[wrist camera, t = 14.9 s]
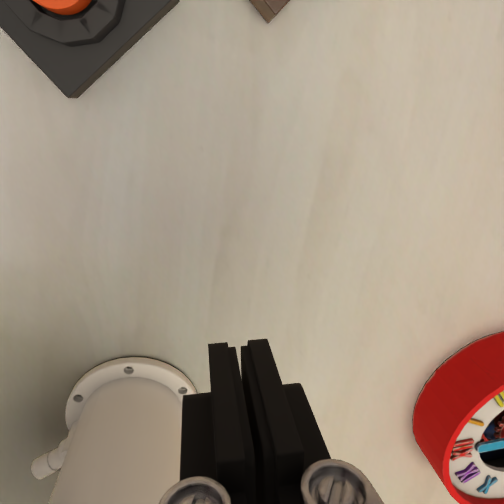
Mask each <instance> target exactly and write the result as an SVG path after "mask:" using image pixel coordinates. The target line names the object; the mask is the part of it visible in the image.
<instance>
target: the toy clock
mask: <svg viewBox="0 0 504 504" xmlns="http://www.w3.org/2000/svg"><path fill="white" fill-rule="evenodd" d="M412 421H413V433H414V436H415V439H416V442H417V444H418V445H419V447H420V448H421V450H422V452H423V453H424V455H425V456H426V458H427V459H428V461H429V462H430V464H431V465H432V467H433V469H434V470H435V472H436V473H437V475H438V476H439V478H440V479H441V481H442V482H443V484H444V485H445V487H446V488H447V490H448V492H449V493H450V495H451V496H452V497H453V498H454V499H455V500H456V501H457V502H458V503H460V504H504V331H503V332H499V333H496V334H492V335H489V336H486V337H484V338H481V339H479V340H477V341H474V342H473V343H471V344H469V345H467V346H466V347H464V348H462V349H460V350H459V351H458V352H456V353H455V354H454V355H452V356H451V357H450V358H448V359H447V360H446V361H445V362H444V363H443V364H442V365H441V366H440V367H439V368H438V369H437V370H436V371H435V372H434V373H433V375H432V376H431V377H430V379H429V380H428V381H427V382H426V384H425V386H424V387H423V389H422V391H421V393H420V395H419V397H418V400H417V402H416V405H415V408H414V414H413V420H412Z"/></svg>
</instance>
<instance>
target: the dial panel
mask: <svg viewBox="0 0 504 504" xmlns="http://www.w3.org/2000/svg"><path fill="white" fill-rule="evenodd" d="M250 1H251V3H252V4H253V5H254V6H255V8H256V9H257V10H258V11H259V13H260V14H261V15H262V16H263V18H264V19H265V20H266V21H267V23H269V22H270V21H271V20H272V19H273V18H274V17H275V16H276V15H277V14H278V13H279V12H280V10H281V9H282V8H283V7H284V6H285V5H286V4H287V3H288V2H289V1H290V0H250Z"/></svg>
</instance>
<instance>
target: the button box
mask: <svg viewBox="0 0 504 504" xmlns="http://www.w3.org/2000/svg"><path fill="white" fill-rule="evenodd" d="M178 2H179V0H92V1H91V2H90V4H89V5H88V6H87V7H86V8H85V9H84V10H82V11H81V12H79V13H76V14H72V15H61V14H56V13H54V12H51V11H49V10H47V9H46V8H44V7H42V6H41V5H39V4H38V3H36V2H34V1H33V0H0V27H1V28H2V29H3V30H4V31H5V32H6V33H7V34H8V35H9V36H10V37H11V38H12V39H13V40H14V42H15V43H16V44H17V45H18V46H19V47H20V48H21V49H22V50H23V51H24V52H25V53H26V54H27V55H28V56H29V57H30V58H31V60H32V61H33V62H34V63H35V64H36V65H37V66H38V67H39V68H40V69H41V70H42V71H43V72H44V73H45V74H46V75H47V76H48V78H49V79H50V80H51V81H52V82H53V83H54V84H55V85H56V86H57V87H58V88H59V89H60V90H61V91H62V92H63V93H64V94H65V96H66V97H68V98H78V97H79V96H80V95H81V94H82V93H83V92H84V91H85V90H86V89H87V88H88V87H89V86H90V85H91V84H93V83H94V82H95V81H96V80H97V79H98V78H99V77H100V76H101V75H102V74H103V73H104V72H105V71H106V70H107V69H108V68H109V67H111V66H112V65H113V64H114V63H115V62H116V61H117V60H118V59H119V58H120V57H121V56H122V55H123V54H124V53H125V52H126V51H127V50H129V49H130V48H131V47H132V46H133V45H134V44H135V43H136V42H137V41H138V40H139V39H140V38H141V37H142V36H143V35H144V34H145V33H147V32H148V31H149V30H150V29H151V28H152V27H153V26H154V25H155V24H156V23H157V22H158V21H159V20H160V19H161V18H162V17H163V16H164V15H166V14H167V13H168V12H169V11H170V10H171V9H172V8H173V7H174V6H175V5H176V4H177V3H178Z"/></svg>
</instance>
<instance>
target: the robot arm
mask: <svg viewBox="0 0 504 504" xmlns="http://www.w3.org/2000/svg"><path fill="white" fill-rule="evenodd" d="M208 349H209V366H210V383H211V392H208V393H199V394H197V392H196V390H195V388H194V386H193V385H192V383H191V382H190V380H189V379H188V378H187V377H186V376H185V375H184V374H183V373H182V372H180V371H179V370H177V369H176V368H174V367H172V366H171V365H169V364H166V363H164V362H161V361H158V360H154V359H149V358H140V357H129V358H119V359H115V360H112V361H108V362H105V363H103V364H101V365H99V366H96V367H94V368H93V369H92V370H90V371H89V372H87V373H86V374H85V375H84V376H83V377H82V378H81V379H80V380H79V381H78V382H77V383H76V385H75V386H74V388H73V390H72V391H71V394H70V396H69V399H68V401H67V405H66V410H65V420H66V425H67V428H68V431H69V434H68V437H67V438H66V439H64V440H62V441H61V442H60V444H59V446H58V448H56V449H54V450H50V451H49V452H47V453H45V454H43V455H41V456H40V457H38V458H36V459H35V460H33V462H32V464H31V471H32V474H33V476H34V477H35V478H36V479H43V478H45V477H47V476H48V475H50V474H52V473H54V472H56V471H58V470H59V469H60V468H61V470H60V473H59V475H58V478H57V481H56V484H55V486H54V489H53V492H52V494H51V497H50V500H49V503H48V504H384V503H383V501H382V500H381V498H380V497H379V495H378V493H377V492H376V490H375V489H374V487H373V486H372V484H371V483H370V481H369V480H368V479H367V477H366V476H365V475H364V474H363V473H362V472H361V471H360V470H359V469H357V468H356V467H355V466H353V465H352V464H349V463H347V462H344V461H342V460H335V459H331V457H330V455H329V452H328V450H327V447H326V445H325V442H324V440H323V437H322V435H321V432H320V430H319V427H318V425H317V422H316V420H315V417H314V415H313V412H312V410H311V407H310V405H309V402H308V400H307V397H306V395H305V392H304V390H303V388H302V386H301V384H300V383H294V384H284V385H282V382H281V379H280V376H279V373H278V370H277V367H276V364H275V361H274V358H273V355H272V352H271V349H270V346H269V343H268V340H267V339H259V340H248V345H247V346H241V375H240V370H239V364H238V359H237V353H236V348H235V347H228V343H227V342H225V343H214V344H208ZM241 378H242V381H241Z"/></svg>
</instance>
